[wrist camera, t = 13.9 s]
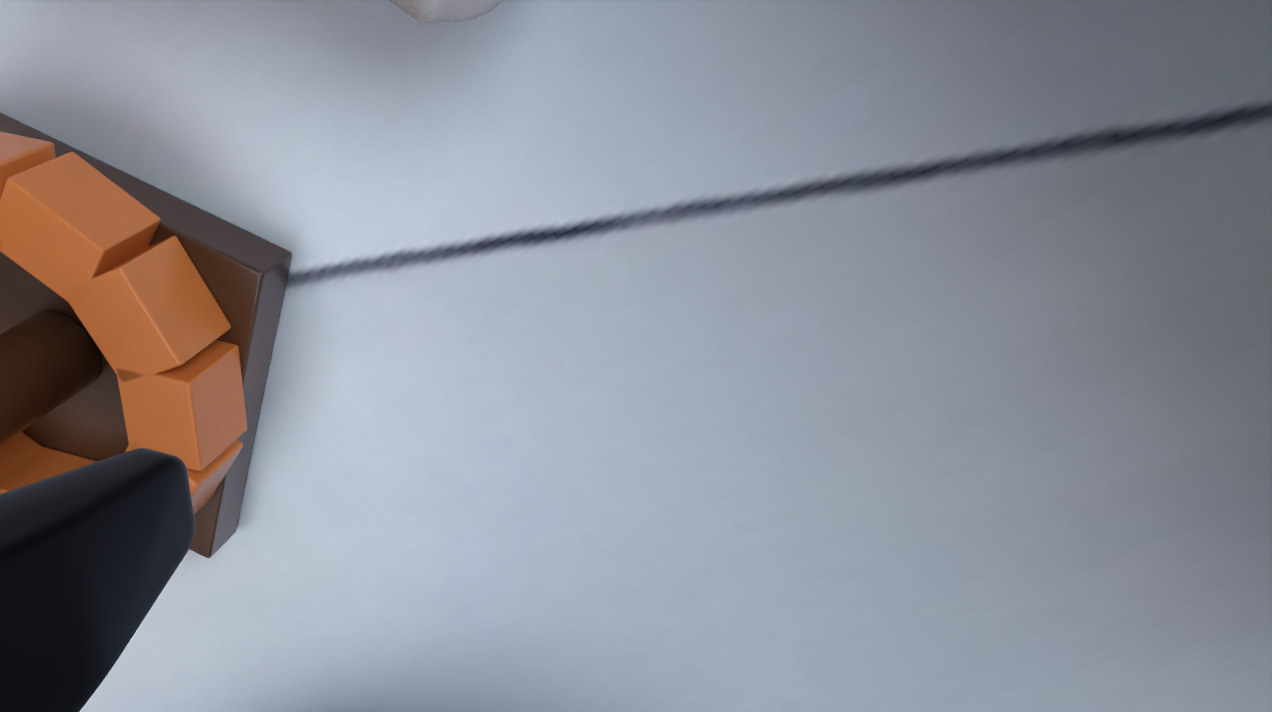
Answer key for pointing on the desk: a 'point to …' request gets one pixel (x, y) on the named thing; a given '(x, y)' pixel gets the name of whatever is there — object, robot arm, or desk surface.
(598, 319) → the desk surface
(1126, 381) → the desk surface
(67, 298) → the ring
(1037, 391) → the desk surface
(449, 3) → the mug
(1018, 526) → the desk surface
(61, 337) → the post
